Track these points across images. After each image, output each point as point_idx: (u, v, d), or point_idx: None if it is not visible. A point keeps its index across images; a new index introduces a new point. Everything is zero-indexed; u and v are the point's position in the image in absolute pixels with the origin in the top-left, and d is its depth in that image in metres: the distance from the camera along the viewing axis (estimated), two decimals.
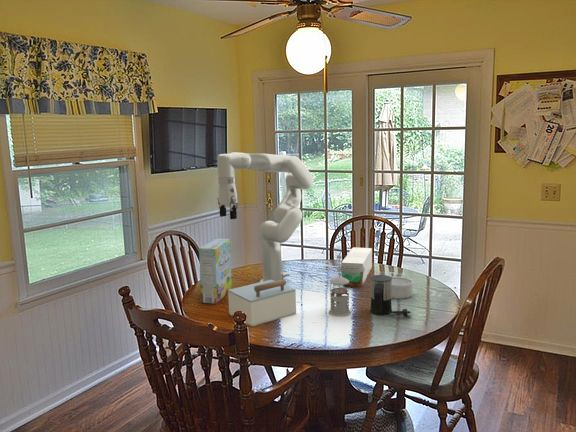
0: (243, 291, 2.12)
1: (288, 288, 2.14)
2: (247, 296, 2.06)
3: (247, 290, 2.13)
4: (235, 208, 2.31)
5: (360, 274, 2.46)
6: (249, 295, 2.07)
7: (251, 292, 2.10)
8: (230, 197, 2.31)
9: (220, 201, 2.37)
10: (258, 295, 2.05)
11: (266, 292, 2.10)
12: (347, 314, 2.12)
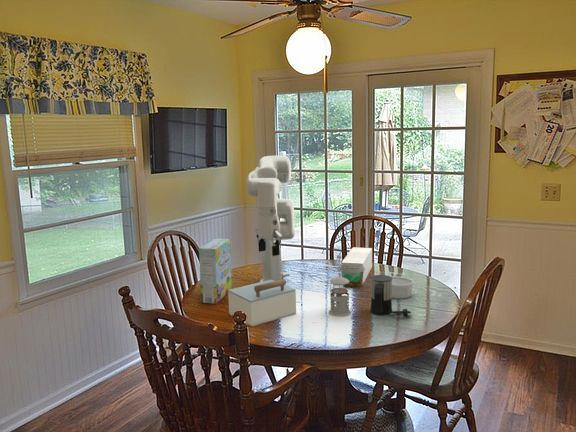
0: (243, 291, 2.12)
1: (288, 288, 2.14)
2: (247, 296, 2.06)
3: (247, 290, 2.13)
4: (278, 243, 1.99)
5: (360, 274, 2.46)
6: (249, 295, 2.07)
7: (251, 292, 2.10)
8: (273, 230, 1.99)
9: (260, 234, 2.05)
10: (258, 295, 2.05)
11: (266, 292, 2.10)
12: (347, 314, 2.12)
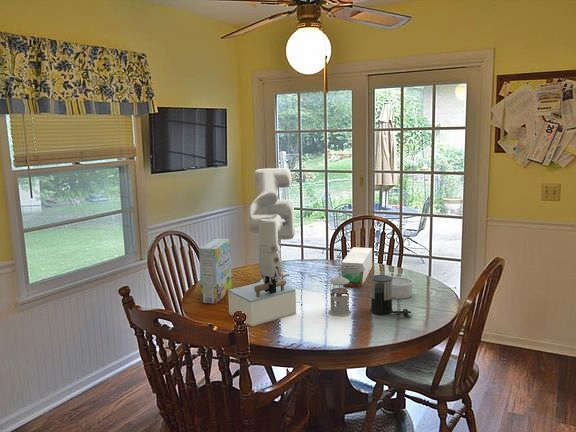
0: (243, 291, 2.12)
1: (288, 288, 2.14)
2: (247, 296, 2.06)
3: (247, 290, 2.13)
4: (275, 282, 2.05)
5: (360, 274, 2.46)
6: (249, 295, 2.07)
7: (251, 292, 2.10)
8: (274, 268, 2.02)
9: (261, 270, 2.08)
10: (258, 295, 2.05)
11: (266, 292, 2.10)
12: (347, 314, 2.12)
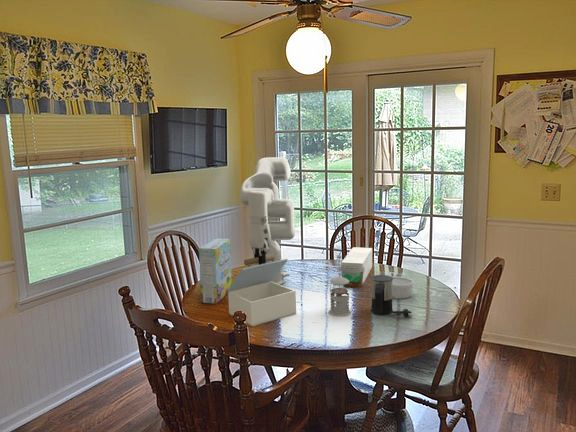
0: None
1: None
2: None
3: None
4: (264, 253, 2.09)
5: (360, 274, 2.46)
6: None
7: None
8: (263, 239, 2.06)
9: (251, 242, 2.12)
10: (250, 267, 2.07)
11: None
12: (347, 314, 2.12)
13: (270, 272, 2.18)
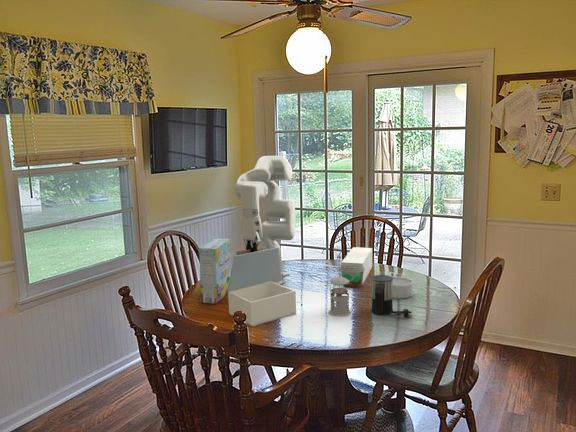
0: None
1: None
2: None
3: None
4: (256, 245, 2.13)
5: (360, 274, 2.46)
6: None
7: None
8: (255, 231, 2.10)
9: (243, 235, 2.16)
10: None
11: None
12: (347, 314, 2.12)
13: (266, 266, 2.20)
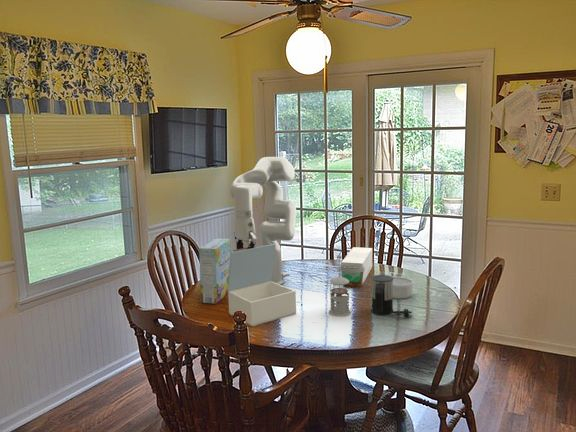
0: None
1: None
2: None
3: None
4: (253, 244, 2.15)
5: (360, 274, 2.46)
6: None
7: None
8: (248, 232, 2.14)
9: (237, 235, 2.20)
10: None
11: None
12: (347, 314, 2.12)
13: (264, 264, 2.21)
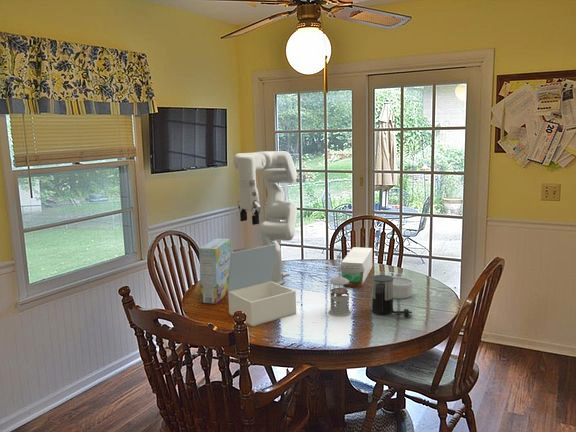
0: None
1: None
2: None
3: None
4: (258, 213, 2.18)
5: (360, 274, 2.46)
6: None
7: None
8: (252, 201, 2.18)
9: (241, 205, 2.24)
10: None
11: None
12: (347, 314, 2.12)
13: (264, 264, 2.21)
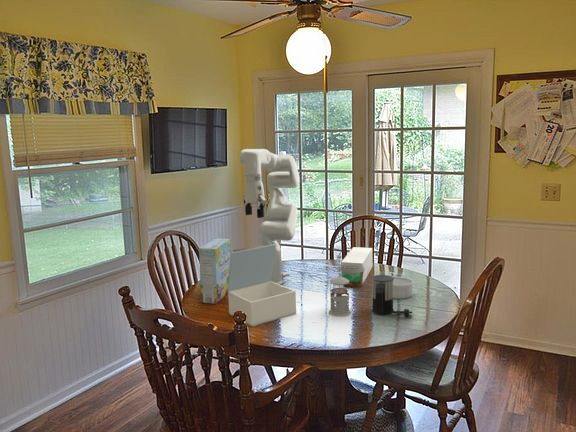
0: None
1: None
2: None
3: None
4: (263, 206, 2.24)
5: (360, 274, 2.46)
6: None
7: None
8: (257, 195, 2.24)
9: (246, 199, 2.30)
10: None
11: None
12: (347, 314, 2.12)
13: (264, 264, 2.21)
